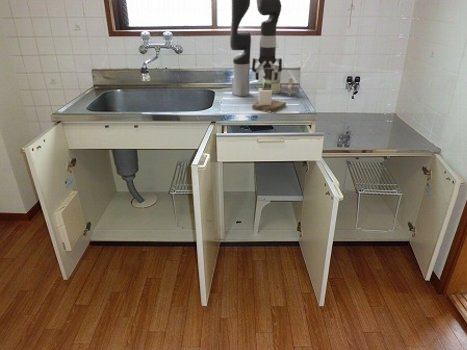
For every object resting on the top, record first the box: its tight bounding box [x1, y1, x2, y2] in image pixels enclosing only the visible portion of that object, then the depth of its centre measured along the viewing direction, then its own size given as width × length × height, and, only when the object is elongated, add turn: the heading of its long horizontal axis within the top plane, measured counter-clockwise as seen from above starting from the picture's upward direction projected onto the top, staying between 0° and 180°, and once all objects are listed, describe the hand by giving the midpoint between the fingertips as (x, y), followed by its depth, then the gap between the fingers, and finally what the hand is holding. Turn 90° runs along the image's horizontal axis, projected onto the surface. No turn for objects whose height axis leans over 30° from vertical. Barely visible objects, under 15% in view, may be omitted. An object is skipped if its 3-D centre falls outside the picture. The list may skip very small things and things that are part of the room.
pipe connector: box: [280, 76, 300, 97], centre depth 193 cm, size 10×10×10 cm
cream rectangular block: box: [258, 87, 273, 105], centre depth 173 cm, size 6×6×8 cm
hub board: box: [251, 99, 287, 113], centre depth 175 cm, size 12×13×2 cm
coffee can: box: [262, 64, 282, 95], centre depth 200 cm, size 10×10×14 cm
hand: (266, 80), depth 170 cm, fingers open, 8 cm apart
